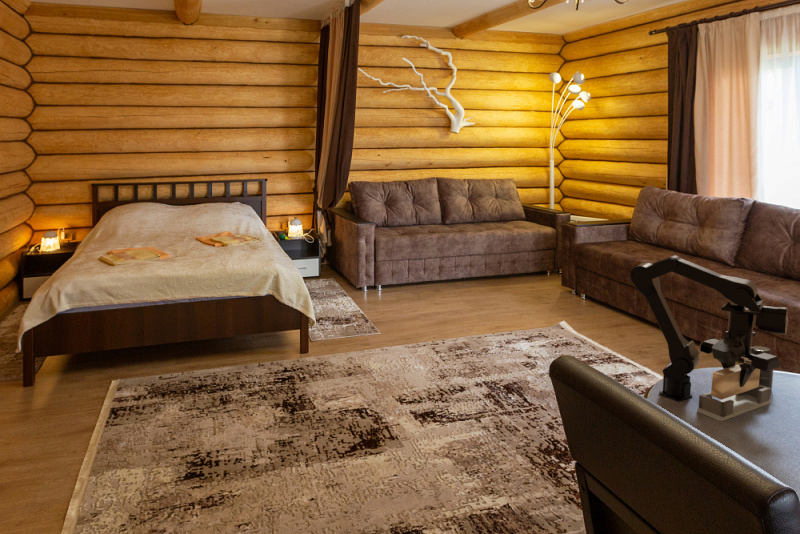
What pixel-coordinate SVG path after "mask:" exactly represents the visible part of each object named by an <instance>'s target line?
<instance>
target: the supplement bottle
mask: <svg viewBox="0 0 800 534" xmlns="http://www.w3.org/2000/svg"><path fill="white" fill-rule="evenodd" d="M752 347H754V351H753V352H751V354H754V355H758V354H762V353H767V354H770V355H772V354H771V352H772V351H771V348H769V347H766V346H760V345H756V346H755V345H754V346H752ZM773 378H774V369H772V370H769V371H763V370H760V378H759V385H763V386H766V387H769V388H771V390H770V392H771V391H772V389H773V382H774V381H773V380H774V379H773Z"/></svg>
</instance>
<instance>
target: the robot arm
mask: <svg viewBox="0 0 800 534" xmlns="http://www.w3.org/2000/svg"><path fill="white" fill-rule="evenodd" d="M671 272H672V273H674V274H676V275H679V276H681V277H684V278H686V279H689V280H691V281H693V282H695V283H699V284H701V285H702V286H706V287H707V288H710V289H712V290H715V291H716V292H718V293H719V294H721V296H723V297H724V298H725V299H727V300H728V301H727V303H725V304H723V305H722V306H721V307H720V309H721V311H726V312H729V313H728V323H727V324H728V325H727V326H728V327H727V330H726V331H724V333H723V337H722V339H716V338H711V339H705V340H703V341H702V342H700V344H699V350H698V348H697V346H696V343H695V341H694V340H691V341H688V340H687V339H686V338H685V337H684V336H683V334H682V332H681V330H680V327H679V325H678V323H677V321H676V320H675V318H674V315H673V313H672V311H671V309H670V307H669V304H668V303H667V300H666V298H665V297H664V296H665V295H664V294H663V292H662V288H661V287H662V286H661V279H660V277H661V276H663V275H666V274H669V273H671ZM629 279H630V282H631V283H632V284H633V286H634V287H635V289H636V290H637V291H638V292H639V293H640V294H641V295H642V296H643V297H644V298H645V300H646V301H647V303H648V306H649V308H650V310H651V312H652V313H653V316H654V318H655V320H656V323H657V324H658V326H659V328H660V331H661V333H662V335H663V337H664V340H665V341H666V343H667V349H668V357H669V360H670V361H669V363H667V365H665V367H664V368H663V369H662V374H663V376H662V377H663V378H662V379H663V380H662V390H661V391H658V394H659V395H662V396H664V397H666V398H669V399H672V400H674V401H675V402H676V401H678V402H680V401H683V400H686V399H688V398H693V394H692V393H691V392H692V391H691V390H692V383H691V376H690V375H689V374H690V373H692V372H693V371H694V370H695V368H696V367H697V366H698V364H699V362H700V356H699V355H700V354H701V353H704V354H708V355H710V354H712V356H713V358H714V359H716V360H718V362H720V364H721V366H722V369H725V368H728V367H732V366H735V365H736V362H737V360H739V359H741V360H743V362H742V364H741V363H739V366H740V368H741V374H740V387H743V386H744V385H745V383H746V382H747V380H748V379H749V377H750V375H751V374H752V373H753V371H754V370H755V369H756V368H757V369H760V370H763V371H769V370H772V369H773V370H775V369H777V368H779V367H780V362H781V360H780V359H779V357H778V356H776V355H773V354H771V353H770V354H771V355H770V354H767V353H762V354H758V355H754V354H751V352H753V351H754V347H753V346H752V345H753V344H752V343H753V338H754V337H756V334H757V333H756V332H755V331H754V321H755V327H756V328H757V330H759V331H760V332H763V333H769V334H770V333H771V334H778V335H787V332H788V327H789V318H788V314H789V313H788V311H789V310H788V309H789V308H788V307H784V306H769V305H766V303H765V301H764V300H763V298H761V296H760V295H759V293H758V287H757V284H756V283H755V282H754V281H752V280H750V279H746V278H741V277H737V276H729V275H725V274H721V273H718V272H716V271H714V270H711V269H709V268H706V267H703V266H701V265H699V264H696V263H695V262H691V261H688V260H686V259H684V258H681V257H680V256H678V255H671V256H669V257H667V258H664V259H661V260H658V261H655V262H653V263H652V262H651V263H650V262H642V263H640V264H638V265H637V266H635V267H633V268H632V270H631V271H630V273H629ZM755 315H756V317H755Z"/></svg>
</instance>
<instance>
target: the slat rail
mask: <svg viewBox="0 0 800 534" xmlns="http://www.w3.org/2000/svg"><path fill="white" fill-rule="evenodd" d="M770 390H771V391H772V389H771V388H769V387H766V386H763V385H759V387H757V388H754V389H751V390H748V391H745V392H742V393H739V394H736V395H734V396H731V397H728V398H725V399H722V400H721V399H719V400H718V399H717V398H716V399H715V398H713V396H711V391H708V392H705V393H702V394H699V396H698V406H697V409H696V412H697V413H699V412H700V414H702V415H705V416H707V417H709V418H712V419H715V420H718V421H720V422H723V421H727V420H729V419H732V418H734V417H737V416H740V415H742V414H746V413H749V412H750V411H754V410H756V409H759V408H761V407H764V406H767V405H770V404H771V391H770Z"/></svg>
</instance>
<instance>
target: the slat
mask: <svg viewBox="0 0 800 534" xmlns="http://www.w3.org/2000/svg"><path fill="white" fill-rule="evenodd" d="M742 363H743V362H742ZM742 363H739V364H742ZM739 364H735V366H732V367H728V368H725V369H723V368H722V369H719V370H716V371H713V372H712V377H711V379H712V380H711V391H710V393H711V396H712V398H713V397H714V398H716V399H719V400H722V399H725V398H728V397H731V396H734V395H736V394H739V393H742V392H745V391H748V390H751V389H754V388H757V387H759V378H760V369H757V368H756V369H755V370H754V371H753V373H752V374H751V375H750V377H749V379H748V380H747V382H746V383H745V385H744V386H743V387H740V374H741V368H740V366H739Z"/></svg>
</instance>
